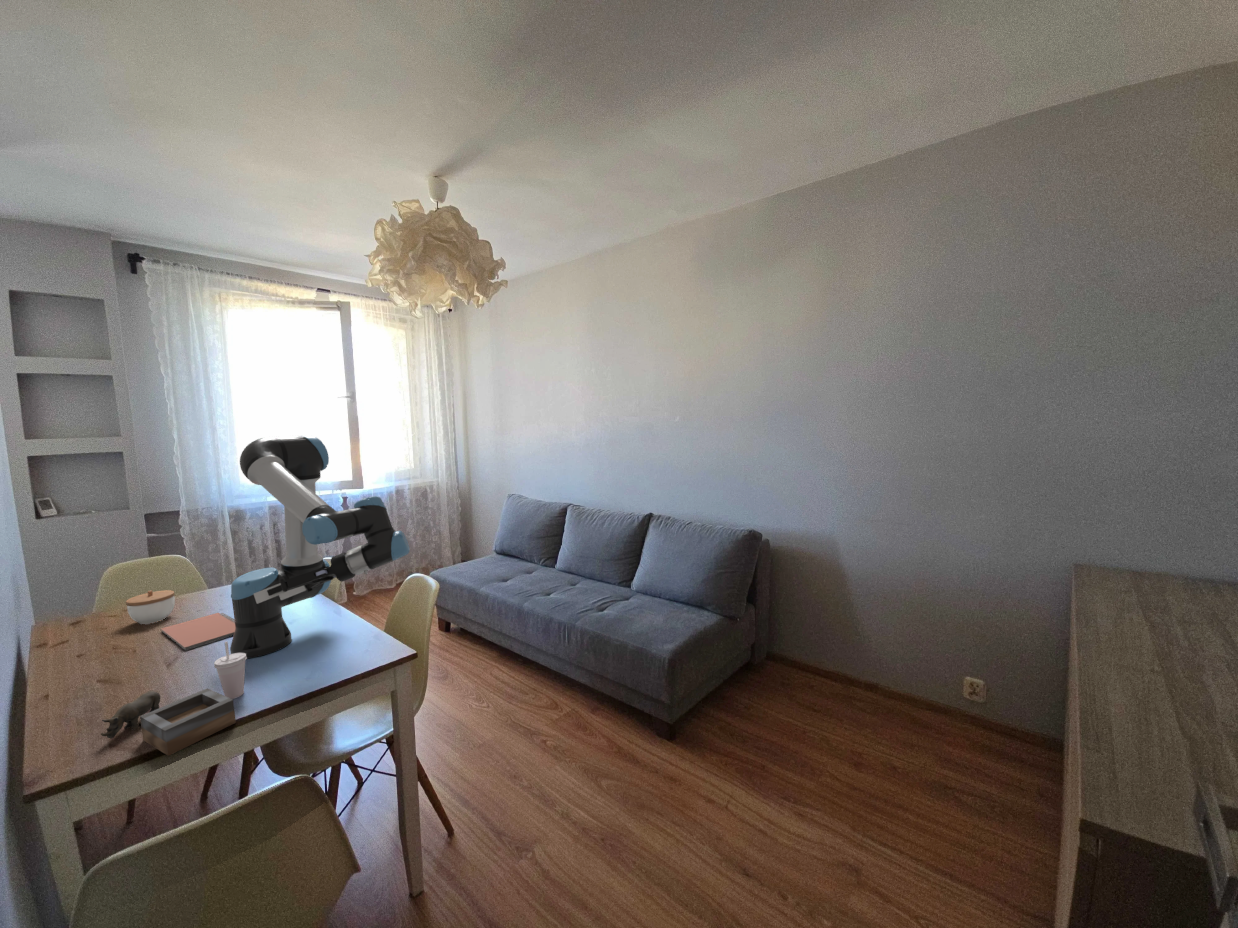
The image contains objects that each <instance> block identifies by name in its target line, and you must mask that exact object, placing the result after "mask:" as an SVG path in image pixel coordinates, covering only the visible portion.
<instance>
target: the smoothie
mask: <svg viewBox="0 0 1238 928" xmlns="http://www.w3.org/2000/svg"><path fill="white" fill-rule="evenodd" d="M224 648H225V649H224V650H225V655H223V656H222V657H219V658H218V659H216V660H215V661H214V663H213V664H214V669H216V672H217V674H218V678H219V682H220V685H221V688H222V691H223V695H224V696H226V697H228V698H231V699H233V700H234V699H237V698H240V697H241V696H242V695H244V693H245V675H246V674H245V672H246V671H245V670H246V660H247V659H248V658H247V657H246V654H245V653H234V654H231V653H230V652H229V651H230V650H229V643H228V641H225V642H224Z"/></svg>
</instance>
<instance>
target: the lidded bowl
mask: <svg viewBox="0 0 1238 928" xmlns="http://www.w3.org/2000/svg"><path fill="white" fill-rule="evenodd" d="M175 603H176V599H175V591H174V590H170V589H167V590H165V589H164V590H156V591H153V590H152V589H151V590H147V592H145V593H142V594H138V595H135V596H133V597H130V598H128V599H127V600H126V601H125V605H126V610H127V613H128V615H129V617H130V618H131V620H133V621H134V622H136V623H138V624H140V625H142V624H145V625H151V624H150V623H152V624H155V623H154V622H156V623H158V622H157V621H160V620H162V621H164V620H163V619H165V618H166V617H167V618H168V616H170V615H171V613H172V612H173V610H174V608H175ZM167 618H166V619H167ZM166 619H165V620H166ZM160 622H161V621H160Z"/></svg>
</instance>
